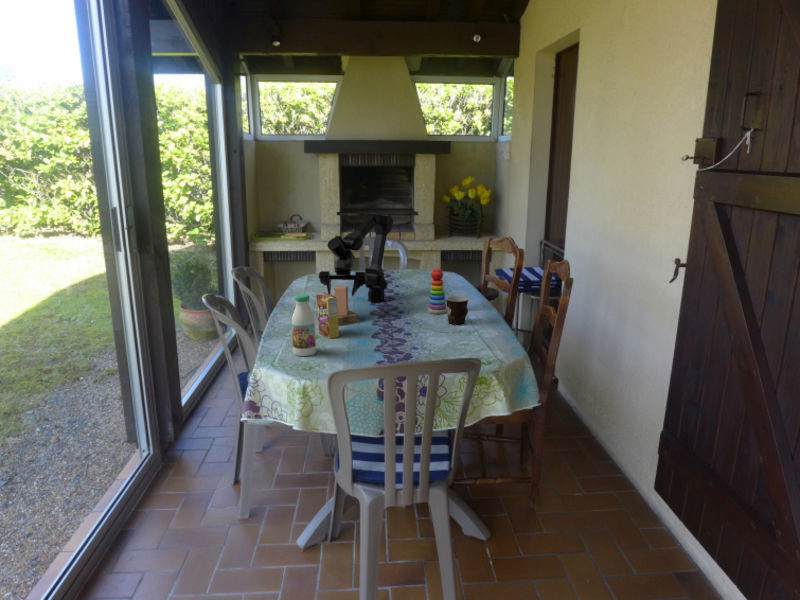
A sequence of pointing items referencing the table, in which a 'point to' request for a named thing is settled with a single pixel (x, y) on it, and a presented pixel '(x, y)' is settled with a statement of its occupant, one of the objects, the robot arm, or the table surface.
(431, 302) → the stacking toy
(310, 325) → the milk bottle
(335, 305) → the candy box
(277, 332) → the table surface
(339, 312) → the terracotta block
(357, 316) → the walnut plinth
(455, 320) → the coffee mug
